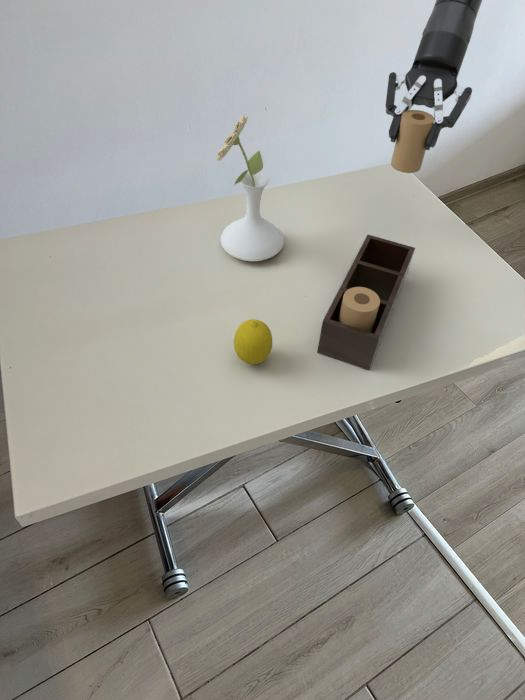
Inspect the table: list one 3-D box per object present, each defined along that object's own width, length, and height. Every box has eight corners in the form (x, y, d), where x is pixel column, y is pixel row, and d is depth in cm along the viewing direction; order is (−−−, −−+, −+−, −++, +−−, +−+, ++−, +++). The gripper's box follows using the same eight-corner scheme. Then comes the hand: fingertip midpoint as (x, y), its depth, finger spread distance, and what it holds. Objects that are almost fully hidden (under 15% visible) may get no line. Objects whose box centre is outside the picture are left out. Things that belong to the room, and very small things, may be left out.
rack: (360, 265, 94) (367, 234, 89) (405, 279, 93) (415, 247, 87) (316, 352, 80) (322, 320, 75) (369, 370, 78) (378, 339, 73)
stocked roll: (352, 323, 84) (362, 281, 77) (375, 343, 81) (388, 302, 74) (327, 336, 81) (335, 295, 75) (350, 357, 79) (361, 316, 72)
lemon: (241, 379, 76) (242, 341, 70) (228, 352, 79) (228, 313, 74) (276, 369, 78) (280, 331, 72) (262, 343, 81) (265, 304, 75)
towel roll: (405, 155, 95) (417, 106, 88) (426, 167, 92) (441, 118, 86) (384, 162, 93) (395, 114, 86) (406, 176, 90) (419, 126, 84)
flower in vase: (248, 221, 102) (252, 87, 83) (295, 246, 97) (310, 110, 79) (201, 252, 95) (193, 113, 77) (249, 280, 90) (253, 140, 72)
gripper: (485, 63, 88) (451, 162, 90) (401, 47, 92) (369, 143, 93) (493, 37, 81) (455, 146, 82) (401, 21, 85) (366, 125, 86)
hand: (409, 144), depth 88 cm, fingers closed on towel roll, 5 cm apart
